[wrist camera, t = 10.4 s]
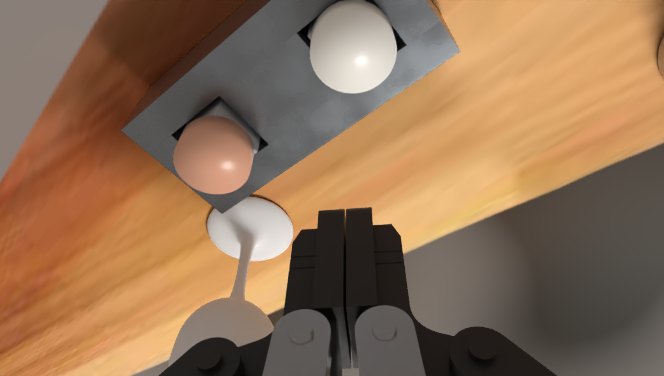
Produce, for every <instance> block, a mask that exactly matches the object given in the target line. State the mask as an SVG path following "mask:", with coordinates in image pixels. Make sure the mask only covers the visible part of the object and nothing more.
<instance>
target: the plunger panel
mask: <svg viewBox="0 0 664 376" xmlns="http://www.w3.org/2000/svg"><path fill="white" fill-rule="evenodd" d="M335 1H337V0H247V1H246V2H245V3H243V4H242V5H241V6H240V7H239V8H238V9H237V10H236V11H234V12H233V13H232V14H231V15H230V16H229V17H228V18H227V19H225V20H224V21H223V22H222V23H221V24H220V25H219V26H218V27H216V28H215V29H214V30H213V31H212V32H211V33H210V34H209V35H207V36H206V37H205V38H204V39H203V40H202V41H201V42H200V43H198V44H197V45H196V46H195V47H194V48H193V49H192V50H191V51H189V52H188V53H187V54H186V55H185V56H184V57H183V58H182V59H180V60H179V61H178V62H177V63H176V64H175V65H174V66H173V67H171V68H170V69H169V70H168V71H167V72H166V73H165V74H164V75H162V76H161V77H160V78H159V79H158V80H157V81H156V82H155V83H153V84H152V85H151V86H150V87H149V88H148V90H147V91H146V93H145V94H144V96H143V97H142V99H141V100H140V102H139V103H138V105H137V107H136V108H135V110H134V111H133V113H132V114H131V116H130V117H129V119H128V120H127V122H126V123H125V125H124V126H123V128H122V129H121V131H122V132H123V133H125V134H126V135H127V136H128V137H129V138H131V139H132V140H133V141H134V142H136V143H137V144H138V145H139V146H140V147H142V148H143V149H144V150H145V151H146V152H148V153H149V154H150V155H151V156H152V157H154V158H155V159H156V160H157V161H159V162H160V163H161V164H162V165H163V166H165V167H166V168H167V169H168V170H169V171H171V172H172V173H173V174H174V175H175V176H177V177H178V178H179V179H180V180H182V178H181V177H180V176H179V175H178V173H177V171H176V169H175V166H174V162H173V154H174V150H175V147H176V145H177V143H178V141H179V139H180V136H181V134H182V132H183V130H184V128H185V126H186V124H187V122H188V121H189V120H190V119H191V118H193V117H194V116H195V115H196V114H198V113H199V112H200V111H201V110H202V109H204V108H205V107H206V106H207V105H209V104H210V103H211V102H212V101H214V100H215V99H216V98H217V97H218V96H220V97H221V98H222V99H223V100H224V101H225V102H226V103H227V104H228V105H229V106H230V107H231V108H232V109H233V110H234V111H235V112H236V113H237V114H238V115H239V116H240V117H241V118H243V119H244V120H245V121H246V122H247V123H248V124H249V125H250V126H251V127H252V128H253V129H254V130H255V131H256V132H257V133H258V134H259V135H260V136H261V139H260V143H259V148H258V152H257V153H255V154H254V158H253V162H252V167H251V171H250V175H249V177H248V179H247V181H246V182H245V183H244V184H243V186H241V187H240V188H239V189H237V190H235V191H233V192H230V193H226V194H208V193H204V192H201V191H198V190H196V189H194V188H193V187H191V186H189V185H188V184H187V183H186V182H184V181H183V180H182V181H183V182H184V183H185V184H186V185H188V186H189V187H190V188H191V189H192V190H194V191H195V192H196V193H197V194H198V195H200V196H201V197H202V198H203V199H205V200H206V201H207V202H208V203H209V204H211V205H212V206H213V207H214V208H215V209H217V210H218V211H219V212H220V213H221V214H223V213H224V212H226V211H227V210H229V209H230V208H232V207H233V206H235V205H236V204H238V203H239V202H241V201H242V200H244V199H245V198H246V197H248V196H249V195H251V194H252V193H254V192H255V191H257V190H258V189H260V188H261V187H263V186H264V185H265V184H267V183H268V182H270V181H271V180H273V179H274V178H276V177H277V176H279V175H280V174H282V173H283V172H284V171H286V170H287V169H289V168H290V167H292V166H293V165H295V164H296V163H298V162H299V161H301V160H302V159H303V158H305V157H306V156H308V155H309V154H311V153H312V152H314V151H315V150H317V149H318V148H320V147H321V146H322V145H324V144H325V143H327V142H328V141H330V140H331V139H333V138H334V137H336V136H337V135H339V134H340V133H342V132H343V131H344V130H346V129H347V128H349V127H350V126H352V125H353V124H355V123H356V122H358V121H359V120H361V119H362V118H363V117H365V116H366V115H368V114H369V113H371V112H372V111H374V110H375V109H377V108H378V107H380V106H381V105H382V104H384V103H385V102H387V101H388V100H390V99H391V98H393V97H394V96H396V95H397V94H399V93H400V92H401V91H403V90H404V89H406V88H407V87H409V86H410V85H412V84H413V83H415V82H416V81H418V80H419V79H421V78H422V77H423V76H425V75H426V74H428V73H429V72H431V71H432V70H434V69H435V68H437V67H438V66H440V65H441V64H442V63H444V62H445V61H447V60H448V59H450V58H451V57H453V56H454V55H456V54H457V53H459V52H460V49H459V47H458V45H457V44H456V42H455V40H454V38H453V36H452V34H451V32H450V30H449V29H448V27H447V25H446V23H445V21H444V19H443V17H442V15H441V14H440V12H439V11H438V9H437V8H436V6H435V5H434V3H433V2H432V0H374V1H375V3H376V4H377V5H378V7H379V8H380V9H381V10H382V11H383V13H384V14H385V15H386V16H387V18H388V19H389V21H390V24H391V26H392V29H393V33H394V37H395V40H396V46H397V56H396V61H395V64H394V67H393V69H392V71H391V72H390V74H389V75H388V77H387V78H386V79H385V80H384V81H383V82H382V83H381V84H379V85H378V86H376V87H375V88H373V89H371V90H368V91H365V92H361V93H343V92H339V91H336V90H334V89H332V88H330V87H328V86H327V85H326V84H324V83H323V82H322V81H321V80H320V79H319V77H318V76H317V75H316V73H315V71H314V69H313V67H312V64H311V60H310V44H311V40H310V39H309V38H308V37H307V36H308V27H309V23H310V22H311V21H312V20H313V19H314V18H316V17H317V16H318V15H319V14H321V13H322V12H323V11H324V10H326V9H327V8H328V7H329V6H330V5H332V4H333V3H334V2H335Z"/></svg>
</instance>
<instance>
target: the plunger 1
mask: <svg viewBox="0 0 664 376" xmlns="http://www.w3.org/2000/svg"><path fill="white" fill-rule="evenodd" d="M260 139H261V136H260V135H259V134H258V133H257V132H256V131H255V130H254V129H253V128H252V127H251V126H250V125H249V124H248V123H247V122H246V121H245V120H244V119H243V118H241V117H240V116H239V115H238V114H237V113H236V112H235V111H234V110H233V109H232V108H231V107H230V106H229V105H228V104H227V103H226V102H225V101H224V100H223V99H222V98H221V97H220V96H218V97H217V98H216V99H215V100H214V101H212V102H211V103H210V104H209V105H207V106H206V107H205V108H204V109H202V110H201V111H200V112H199V113H198V114H196V115H195V116H194V117H193V118H191V119H190V120H189V121H188V122H187V124H186V126H185V128H184V130H183V132H182V134H181V136H180V139H179V141H178V143H177V145H176V147H175V150H174V154H173V162H174V166H175V169H176V171H177V173H178V175H179V176H180V177H181V178H182V180H183V181H184V182H186V183H187V184H188V185H189V186H191V187H193V188H194V189H196V190H198V191H201V192H204V193H208V194H226V193H230V192H233V191H235V190H237V189H239V188H240V187H241V186H243V184H244V183H245V182H246V181H247V179H248V177H249V175H250V171H251V167H252V162H253V158H254V154H255V153H257V152H258V148H259V143H260Z"/></svg>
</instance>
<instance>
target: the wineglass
mask: <svg viewBox="0 0 664 376" xmlns="http://www.w3.org/2000/svg"><path fill="white" fill-rule="evenodd" d="M207 230H208V234H209V236H210V238H211V240H212V241H213V243H214V244H215V245H216V246H217V247H218V248H219V249H220V250H221V251H223V252H224V253H226V254H228V255H230V256H232V257H234V258H237V259H239V265H238V270H237V275H236V280H235V284H234V287H233V291H232V293H231V296H230V298H221V299H217V300H214V301H211V302H209V303H207V304H205V305H203V306H202V307H200V308H199V309H197V310H196V311H195V312H194V313H193V314H192V315H191V316H190V317H189V318H188V319H187V320H186V321H185V323H184V325H183V326H182V328H181V330H180V332H179V334H178V336H177V339H176V341H175V344H174V347H173V350H172V353H171V356H170V360H169V364H168V367H169V366H170V365H172V364H173V363H174V362H175V361H176V360H177V359H178V358H180V357H181V356H182V355H183V354H184V353H185V352H187V351H188V350H189V349H190V348H191V347H192V346H194V345H195V344H197V343H198V342H200V341H203V340H205V339H208V338H213V337H222V338H226V339H229V340H231V341H232V342H234V343H235V344H236V346H237V347H239V346H242V345H245V344H248V343H251V342H254V341H257V340H260V339H262V338H264V337H266V336H267V335H269V334H270V333H271V332H272V331H273V329H274V327H273V325H272V323H271V321H270V320H269V318H268V317H267V316H266V314H265V313H264V312H263V311H262V310H261V309H260V308H258V307H257V306H255V305H254V304H252V303H251V302H248V301H246V300H245V285H246V278H247V273H248V268H249V264H250V261H262V260H267V259H271V258H273V257H276V256H278V255H279V254H281V253H282V252H284V251H285V250H286V249H287V248H288V246H289V245H290V243H291V241H292V238H293V225H292V222H291V220H290V218H289V217H288V215H287V214H286V213H285V212H284V211H283V210H282V209H281V208H280V207H279V206H277V205H276V204H274V203H272V202H270V201H268V200H265V199H262V198H257V197H250V196H248V197H246V198H245V199H244V200H242V201H241V202H239V203H238V204H236V205H235V206H233V207H232V208H230V209H229V210H227V211H226V212H224V213H223V214H221V213H220V212H219V211H218V210H217V209H215V208H214V209H213V211H212V212H211V213H210V215H209V218H208V221H207Z"/></svg>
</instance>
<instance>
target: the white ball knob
mask: <svg viewBox="0 0 664 376" xmlns="http://www.w3.org/2000/svg"><path fill="white" fill-rule="evenodd" d="M307 37H308V38H309V39H310V40H311V44H310V60H311V64H312V67H313V69H314V71H315V73H316V75H317V76H318V77H319V79H320V80H321V81H322V82H323V83H324V84H326V85H327V86H328V87H330V88H332V89H334V90H336V91H339V92H343V93H361V92H365V91H368V90H371V89H373V88H375V87H376V86H378V85H379V84H381V83H382V82H383V81H384V80H385V79H386V78H387V77H388V75H389V74H390V72H391V71H392V69H393V67H394V64H395V61H396V56H397V46H396V40H395V37H394V33H393V29H392V26H391V24H390V21H389V19H388V18H387V16H386V15H385V14H384V13H383V11H382V10H381V9H380V8H379V7H378V5H377V4H376V3H375V1H374V0H337V1H335V2H334V3H333V4H332V5H330V6H329V7H328V8H327V9H326V10H324V11H323V12H322V13H321V14H319V15H318V16H317V17H316V18H314V19H313V20H312V21H311V22H310V23H309V27H308V36H307Z"/></svg>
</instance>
